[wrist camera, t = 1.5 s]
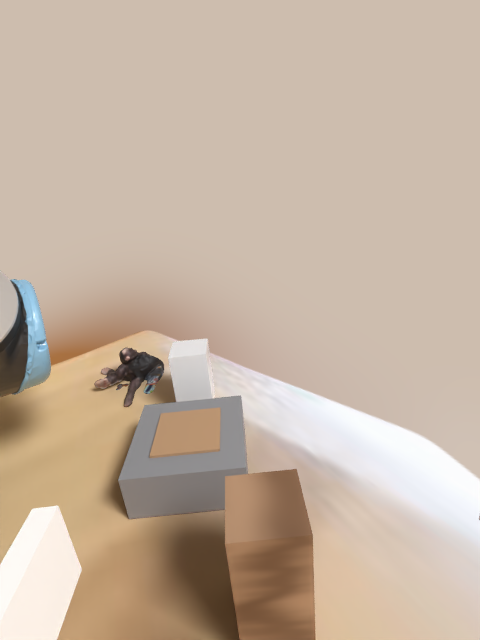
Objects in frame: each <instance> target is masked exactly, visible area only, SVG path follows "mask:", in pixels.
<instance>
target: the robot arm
mask: <svg viewBox="0 0 480 640" xmlns="http://www.w3.org/2000/svg"><path fill="white" fill-rule="evenodd" d="M50 372H51V363H50V355H49V349H48V345H47V342H46V335H45V329H44V324H43V319H42V315H41V311H40V307H39V304H38V300H37V296H36V293H35V290H34V288H33V286H32V285H31V283H29V282H28V281H26V280H15V279H12V280H9V278H8V277H7V276H6V275H5V274H4V273H3V272H2V271H0V397H2V396H6V395H9V394H18V393H20V392H22V391H23V390H24V389H27V388H30V387H33V386H36V385H39V384H41V383H43V382H44V381H46V379H47V378H48V377H49V375H50ZM479 520H480V516H479ZM81 570H82V569H81V566H80V563H79V560H78V558H77V555H76V552H75V550H74V547H73V544H72V541H71V539H70V536H69V533H68V531H67V528H66V525H65V523H64V520H63V517H62V514H61V512H60V509H59V506H51V507H43V508H35V509H32V510H31V512H30V514H29V516H28V517H27V519H26V521H25V523H24V524H23V526H22V528H21V530H20V531H19V533H18V535H17V537H16V538H15V540H14V542H13V543H12V545H11V547H10V549H9V550H8V552H7V554H6V556H5V557H4V559H3V561H2V563H1V564H0V640H57V638H58V635H59V632H60V629H61V627H62V624H63V621H64V618H65V615H66V612H67V610H68V607H69V604H70V601H71V598H72V596H73V593H74V590H75V587H76V584H77V582H78V579H79V576H80V573H81Z"/></svg>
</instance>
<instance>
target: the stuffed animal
mask: <svg viewBox="0 0 480 640" xmlns="http://www.w3.org/2000/svg"><path fill="white" fill-rule="evenodd" d="M119 356H120V360H121V362H122V363H123V364H122V365H120V366H119V367H118V368H117V370H116V371H115V370H112V369H110V368H104V369H102V370H101V373H102V374H104V375H107V377H105V378H104V379H100V380H97V381H96V382H95V387H97V388H102V389H104V388H107V387H108V386H111V385H114V384H115V383H118V382H120V381H122V380H125V381H130V385H129V384H119V385H118V386H117V387H118V388H117V389H116V390H119V389H121V388H122V387H123V386H128V385H129V389H128V393H127V395H126V398H125V402H124V406H125V407H128V406H130V405H131V404H132V401H133V398H134V394H135V391H136V390H137V389H138V388H139V387H140V385H141V383H142V382H143V381H144V380H147V384H146V386H145V389H144V393H146V394H149V393H152V392H153V391H154V388H155V386H156V384H157V382H158V381H159V380H160V378H161V377H162V375H163V373H164V371H163V370H164V364H163V362H162V361H161V360H159V359H158V358H156V357H154V356H150V355H149V354H147V353H146V352H141V353H138V352H137V351H136V350H133V349H132V348H124V349H123V350H122V351H120V354H119Z"/></svg>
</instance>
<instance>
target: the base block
mask: <svg viewBox="0 0 480 640" xmlns="http://www.w3.org/2000/svg"><path fill="white" fill-rule="evenodd" d="M243 474H248V467H247V454H246V441H245V428H244V419H243V409H242V400H241V396H232V397H222V398H212V399H202V400H192V401H182V402H172V403H162V404H152V405H145V406H144V409H143V412H142V414H141V417H140V420H139V423H138V426H137V428H136V431H135V434H134V437H133V440H132V443H131V445H130V448H129V451H128V454H127V457H126V459H125V462H124V465H123V468H122V471H121V474H120V476H119V479H118V482H119V485H120V489H121V492H122V496H123V499H124V503H125V507H126V510H127V514H128V517H129V519H136V518H146V517H156V516H166V515H175V514H185V513H195V512H205V511H215V510H225V476H233V475H243Z"/></svg>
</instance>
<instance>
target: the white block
mask: <svg viewBox="0 0 480 640" xmlns="http://www.w3.org/2000/svg"><path fill="white" fill-rule="evenodd" d="M168 360H169V366H170V371H171V376H172V382H173V387H174V392H175V398H176V402H182V401H192V400H202V399H212V398H215V388H214V381H213V374H212V366H211V359H210V352H209V345H208V339H198V340H188V341H178V342H173V344H172V347H171V350H170V353H169V357H168Z"/></svg>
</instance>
